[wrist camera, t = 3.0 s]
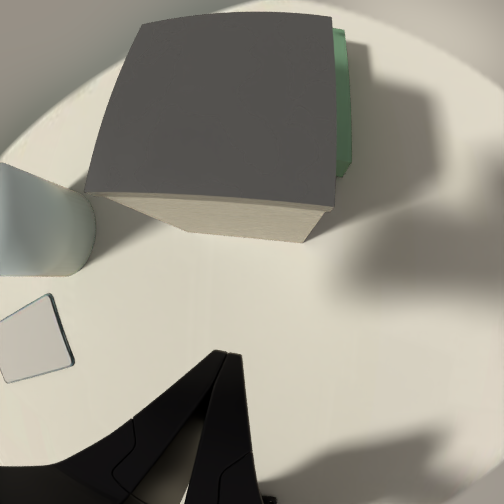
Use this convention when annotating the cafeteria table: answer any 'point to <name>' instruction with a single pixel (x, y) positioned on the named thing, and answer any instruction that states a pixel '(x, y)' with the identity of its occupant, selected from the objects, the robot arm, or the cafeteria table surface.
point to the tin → (224, 125)
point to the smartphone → (33, 342)
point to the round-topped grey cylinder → (42, 226)
